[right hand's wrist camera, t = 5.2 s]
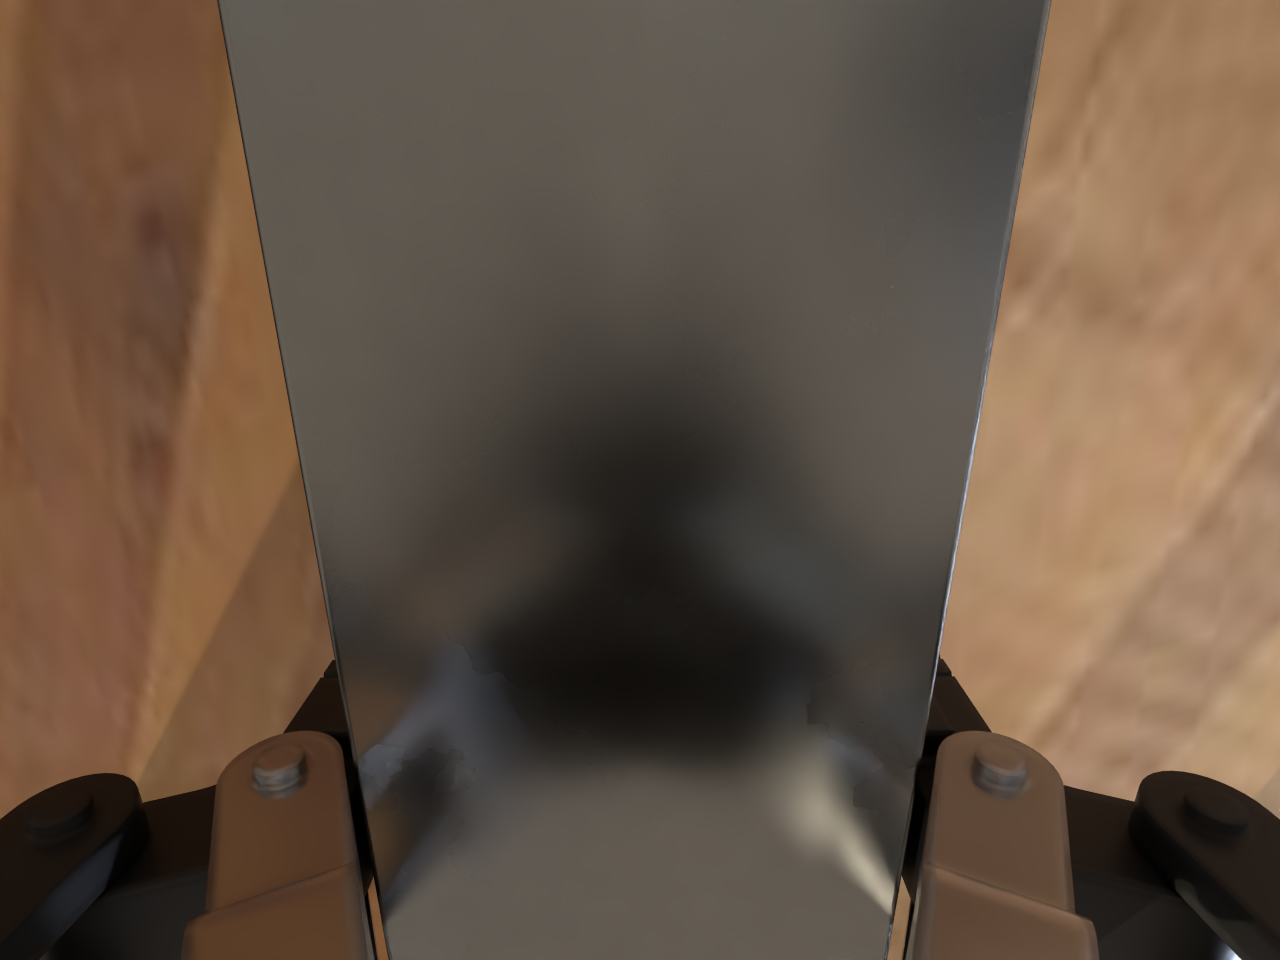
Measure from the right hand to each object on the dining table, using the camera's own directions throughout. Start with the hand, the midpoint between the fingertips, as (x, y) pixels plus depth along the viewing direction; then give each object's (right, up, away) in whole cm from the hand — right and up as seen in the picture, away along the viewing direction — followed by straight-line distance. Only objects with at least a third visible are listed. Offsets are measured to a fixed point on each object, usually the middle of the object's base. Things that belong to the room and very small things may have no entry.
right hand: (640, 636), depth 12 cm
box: (0, +10, +2) cm, 10 cm away
